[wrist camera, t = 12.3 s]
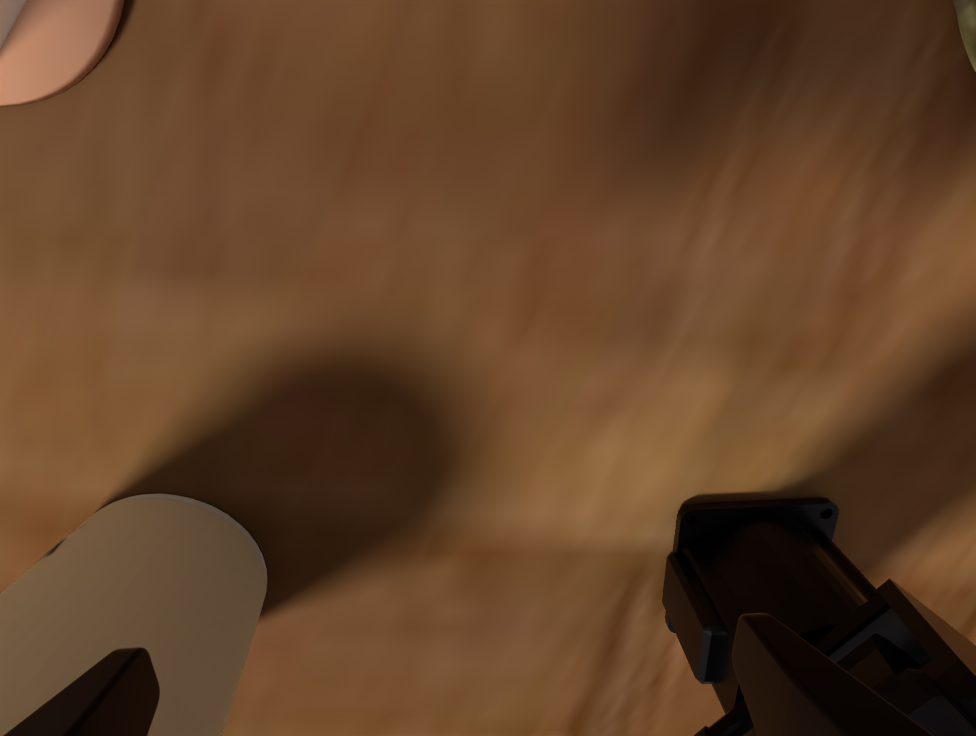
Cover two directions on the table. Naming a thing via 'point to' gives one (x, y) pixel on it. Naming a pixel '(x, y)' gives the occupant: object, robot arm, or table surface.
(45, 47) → the peach dome
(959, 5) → the seal
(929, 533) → the table surface
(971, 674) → the robot arm
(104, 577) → the coffee cup
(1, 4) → the ivory block
